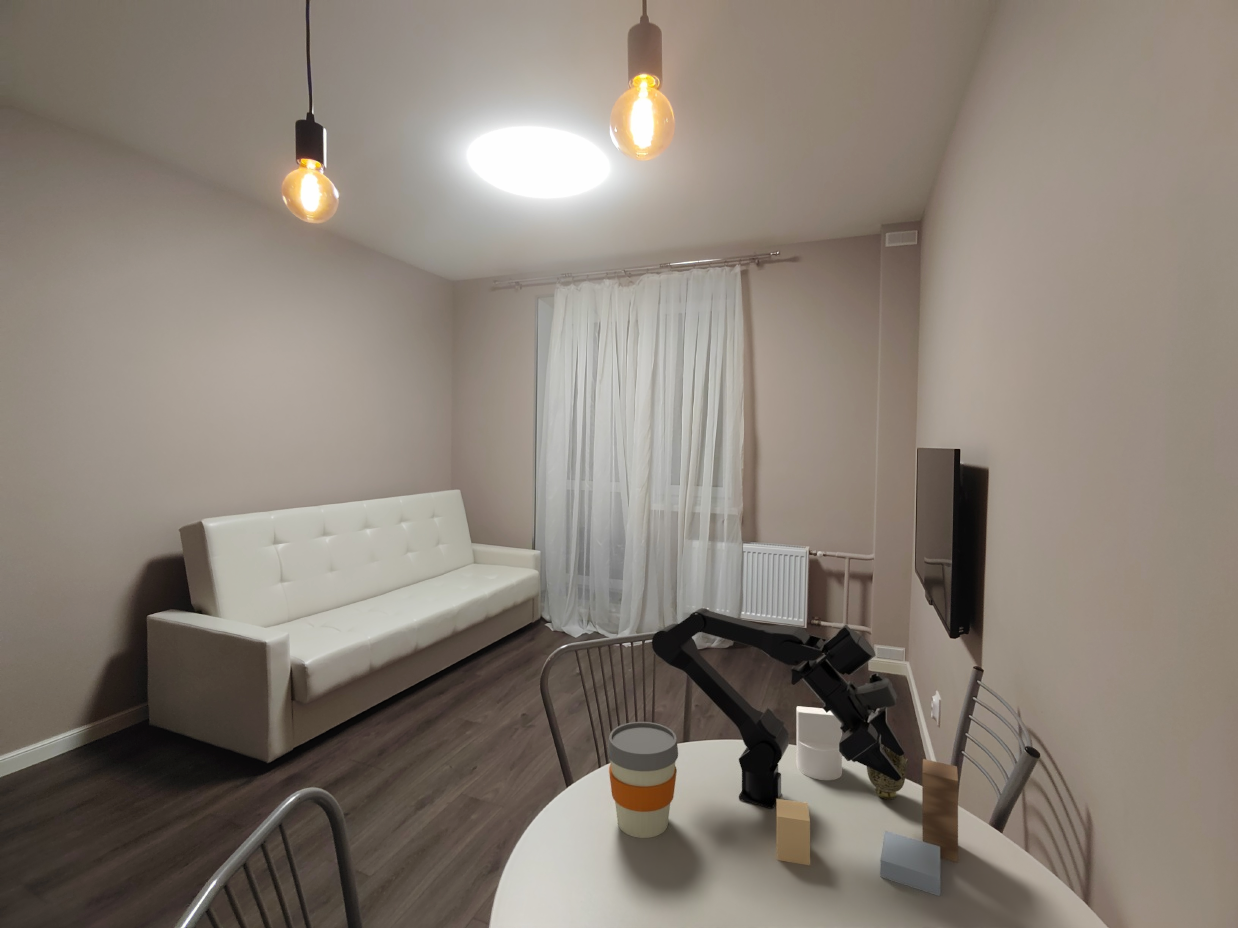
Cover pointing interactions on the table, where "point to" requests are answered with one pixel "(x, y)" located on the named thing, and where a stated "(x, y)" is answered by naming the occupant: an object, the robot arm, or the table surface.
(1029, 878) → the table surface
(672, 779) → the reusable coffee cup
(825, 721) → the cylinder with rectangular tab
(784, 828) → the ochre block
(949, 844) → the walnut pillar
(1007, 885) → the table surface
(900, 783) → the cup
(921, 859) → the slate block
